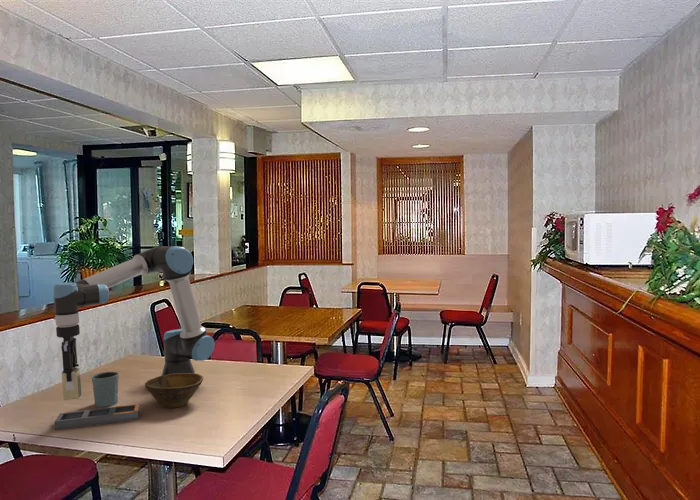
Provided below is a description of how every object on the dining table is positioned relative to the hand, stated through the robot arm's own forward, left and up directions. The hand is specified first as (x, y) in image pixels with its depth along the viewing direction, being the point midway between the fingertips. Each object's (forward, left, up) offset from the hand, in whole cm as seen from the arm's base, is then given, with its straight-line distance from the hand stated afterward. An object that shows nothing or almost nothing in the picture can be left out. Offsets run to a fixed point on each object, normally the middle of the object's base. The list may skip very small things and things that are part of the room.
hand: (71, 387), depth 196 cm
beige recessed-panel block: (0, 0, -4) cm, 4 cm away
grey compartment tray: (-9, 0, -14) cm, 16 cm away
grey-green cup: (-9, -20, -14) cm, 26 cm away
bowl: (-36, -9, -14) cm, 39 cm away
